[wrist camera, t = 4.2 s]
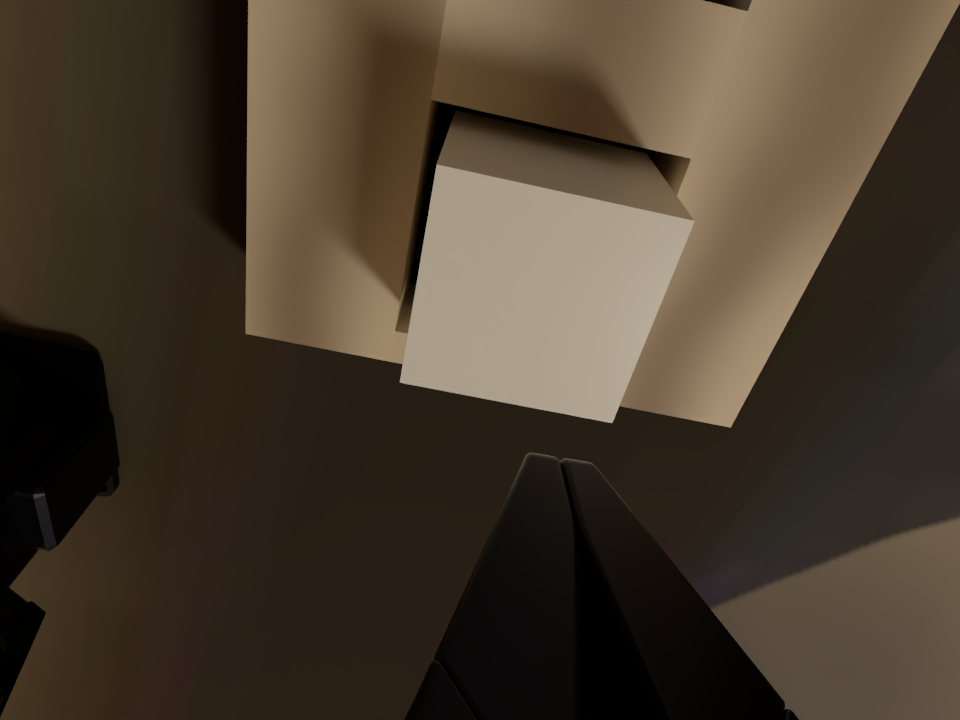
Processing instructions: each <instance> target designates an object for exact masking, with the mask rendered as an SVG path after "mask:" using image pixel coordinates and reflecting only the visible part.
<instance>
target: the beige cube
mask: <svg viewBox="0 0 960 720" xmlns="http://www.w3.org/2000/svg"><path fill="white" fill-rule="evenodd" d="M694 222H695V221H694V219H693V218H692V216H691V215H690V214H689V212H688V211H687V209H686V208H685V207H684V205H683V204H682V202H681V201H680V200H679V198H678V197H677V195H676V194H675V193H674V191H673V190H672V189H671V187H670V186H669V184H668V183H667V182H666V180H665V179H664V177H663V176H662V175H661V173H660V172H659V170H658V169H657V168H656V166H655V165H654V163H653V162H652V161H651V159H650V158H649V156H648V155H647V154H646V153H643V152H638V151H634V150H629V149H625V148H621V147H616V146H612V145H607V144H603V143H598V142H594V141H590V140H585V139H581V138H576V137H572V136H568V135H563V134H559V133H554V132H550V131H546V130H541V129H537V128H532V127H528V126H523V125H519V124H515V123H510V122H506V121H501V120H497V119H493V118H488V117H484V116H479V115H475V114H470V113H466V112H462V111H457V110H456V111H455V113H454V116H453V119H452V122H451V125H450V128H449V130H448V133H447V136H446V139H445V142H444V145H443V148H442V150H441V153H440V156H439V159H438V162H437V165H436V171H435V177H434V183H433V189H432V194H431V200H430V206H429V212H428V218H427V224H426V230H425V236H424V242H423V248H422V254H421V260H420V266H419V271H418V277H417V283H416V289H415V295H414V301H413V307H412V313H411V319H410V325H409V331H408V337H407V342H406V348H405V354H404V360H403V366H402V372H401V378H400V383H405V384H410V385H415V386H421V387H426V388H431V389H436V390H441V391H447V392H452V393H457V394H462V395H468V396H473V397H478V398H483V399H489V400H494V401H499V402H504V403H509V404H515V405H520V406H525V407H530V408H536V409H541V410H546V411H551V412H557V413H562V414H567V415H572V416H578V417H583V418H588V419H593V420H598V421H604V422H609V423H613V420H614V418H615V415H616V413H617V410H618V408H619V405H620V403H621V401H622V398H623V396H624V393H625V391H626V388H627V386H628V383H629V381H630V378H631V376H632V374H633V371H634V369H635V366H636V364H637V361H638V359H639V356H640V354H641V352H642V349H643V347H644V344H645V342H646V339H647V337H648V334H649V332H650V329H651V327H652V325H653V322H654V320H655V317H656V315H657V312H658V310H659V307H660V305H661V303H662V300H663V298H664V295H665V293H666V290H667V288H668V285H669V283H670V280H671V278H672V276H673V273H674V271H675V268H676V266H677V263H678V261H679V258H680V256H681V254H682V251H683V249H684V246H685V244H686V241H687V239H688V236H689V234H690V232H691V229H692V227H693V224H694Z"/></svg>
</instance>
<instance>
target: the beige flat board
mask: <svg viewBox="0 0 960 720" xmlns="http://www.w3.org/2000/svg"><path fill="white" fill-rule="evenodd" d="M959 3H960V0H709V2H708V1H704V0H248V85H247V219H246V334H250V335H255V336H260V337H265V338H271V339H276V340H281V341H286V342H291V343H297V344H302V345H307V346H312V347H317V348H322V349H328V350H333V351H338V352H343V353H348V354H353V355H359V356H364V357H369V358H374V359H379V360H384V361H390V362H395V363H400V364H403V360H404V354H405V348H406V342H407V337H408V331H409V325H410V319H411V313H412V307H413V301H414V295H415V289H416V284H411V283H410V278H411V272H412V266H413V260H414V254H415V247H416V241H417V235H418V229H419V223H420V217H421V210H422V204H423V198H424V192H425V186H426V180H427V174H428V167H429V161H430V155H431V149H432V143H433V137H434V130H435V124H436V118H437V112H438V106H439V102H443V103H448V104H452V105H456V106H461V107H465V108H470V109H474V110H478V111H483V112H487V113H492V114H496V115H500V116H505V117H509V118H514V119H518V120H522V121H527V122H531V123H536V124H540V125H544V126H549V127H553V128H558V129H562V130H566V131H571V132H575V133H580V134H584V135H588V136H593V137H597V138H602V139H606V140H610V141H615V142H619V143H624V144H628V145H632V146H637V147H641V148H646V149H650V150H654V151H656V152H655V155H654V158H653V161H652V162H653V163H654V165H655V166H656V168H657V169H658V170H659V172H660V173H661V175H662V176H663V177H664V179H665V180H666V182H667V183H668V184H669V186H670V187H671V189H672V190H673V191H674V193H675V194H676V195H677V197H678V198H679V200H680V201H681V202H682V204H683V205H684V207H685V208H686V209H687V211H688V212H689V214H690V215H691V216H692V218H693V219H694V221H695V222H694V224H693V227H692V229H691V232H690V234H689V236H688V239H687V241H686V244H685V246H684V249H683V251H682V254H681V256H680V258H679V261H678V263H677V266H676V268H675V271H674V273H673V276H672V278H671V280H670V283H669V285H668V288H667V290H666V293H665V295H664V298H663V300H662V303H661V305H660V307H659V310H658V312H657V315H656V317H655V320H654V322H653V325H652V327H651V329H650V332H649V334H648V337H647V339H646V342H645V344H644V347H643V349H642V352H641V354H640V356H639V359H638V361H637V364H636V366H635V369H634V371H633V374H632V376H631V378H630V381H629V383H628V386H627V388H626V391H625V393H624V396H623V398H622V401H621V403H620V405H619V406H622V407H627V408H633V409H638V410H643V411H648V412H653V413H658V414H664V415H669V416H674V417H679V418H684V419H689V420H695V421H700V422H705V423H710V424H715V425H720V426H726V427H731V426H732V424H733V422H734V420H735V418H736V416H737V415H738V413H739V411H740V409H741V407H742V405H743V403H744V402H745V400H746V398H747V396H748V394H749V392H750V390H751V389H752V387H753V385H754V383H755V381H756V379H757V378H758V376H759V374H760V372H761V370H762V368H763V366H764V365H765V363H766V361H767V359H768V357H769V355H770V353H771V352H772V350H773V348H774V346H775V344H776V342H777V340H778V339H779V337H780V335H781V333H782V331H783V329H784V328H785V326H786V324H787V322H788V320H789V318H790V316H791V315H792V313H793V311H794V309H795V307H796V305H797V303H798V302H799V300H800V298H801V296H802V294H803V292H804V290H805V289H806V287H807V285H808V283H809V281H810V279H811V278H812V276H813V274H814V272H815V270H816V268H817V266H818V265H819V263H820V261H821V259H822V257H823V255H824V253H825V252H826V250H827V248H828V246H829V244H830V242H831V240H832V239H833V237H834V235H835V233H836V231H837V229H838V227H839V226H840V224H841V222H842V220H843V218H844V216H845V215H846V213H847V211H848V209H849V207H850V205H851V203H852V202H853V200H854V198H855V196H856V194H857V192H858V190H859V189H860V187H861V185H862V183H863V181H864V179H865V177H866V176H867V174H868V172H869V170H870V168H871V166H872V165H873V163H874V161H875V159H876V157H877V155H878V153H879V152H880V150H881V148H882V146H883V144H884V142H885V140H886V139H887V137H888V135H889V133H890V131H891V129H892V127H893V126H894V124H895V122H896V120H897V118H898V116H899V115H900V113H901V111H902V109H903V107H904V105H905V103H906V102H907V100H908V98H909V96H910V94H911V92H912V90H913V89H914V87H915V85H916V83H917V81H918V79H919V77H920V76H921V74H922V72H923V70H924V68H925V66H926V64H927V63H928V61H929V59H930V57H931V55H932V53H933V52H934V50H935V48H936V46H937V44H938V42H939V40H940V39H941V37H942V35H943V33H944V31H945V29H946V27H947V26H948V24H949V22H950V20H951V18H952V16H953V14H954V13H955V11H956V9H957V7H958V5H959Z"/></svg>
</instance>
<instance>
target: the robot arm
mask: <svg viewBox="0 0 960 720" xmlns="http://www.w3.org/2000/svg"><path fill="white" fill-rule="evenodd" d="M81 363H83V364H85V365H86V366H87V367H88V368H86V367H84V366H83V365H82V364H81ZM119 465H120V462H119V455H118V448H117V440H116V433H115V425H114V418H113V415H112V413H111V411H110V409H109V403H108V396H107V388H106V381H105V374H104V367H103V363H102V360H101V359H100V358H99V357H98V356H97V355H96V354H94V353H93V352H90V351H87V350H82V349H77V348H72V347H66V346H61V345H56V344H51V343H45V342H40V341H35V340H29V339H24V338H19V337H13V336H8V335H3V334H0V716H1V714H2V712H3V710H4V707H5V705H6V703H7V700H8V698H9V696H10V694H11V691H12V689H13V687H14V685H15V682H16V680H17V678H18V675H19V673H20V671H21V669H22V666H23V664H24V662H25V659H26V657H27V655H28V653H29V650H30V648H31V646H32V644H33V641H34V639H35V637H36V634H37V632H38V630H39V628H40V625H41V623H42V621H43V618H44V616H45V613H46V612H45V611H44V610H42V609H41V608H40V607H39V606H37V605H36V604H35V603H34V602H32V601H31V602H27V601H25V600H24V599H23V598H22V597H20V596H19V595H18V594H17V593H15V592H14V591H13V590H12V589H10V588H9V586H10V585H11V584H12V583H13V581H14V580H15V579H16V578H17V576H18V575H19V574H20V573H21V571H22V570H23V569H24V568H25V566H26V565H27V564H28V563H29V561H30V560H31V559H32V558H33V556H34V555H35V554H36V552H37V551H38V550H44V551H50V550H52V549H53V548H55V547H56V546H58V545H59V544H60V542H61V541H62V540H63V538H64V537H65V536H66V535H67V533H68V532H69V531H70V529H71V528H72V527H73V525H74V524H75V523H76V522H77V520H78V519H79V518H80V516H81V515H82V514H83V512H84V511H85V510H86V509H87V507H88V506H89V505H90V503H91V502H92V501H93V499H94V498H95V497H96V496H110V495H112V494H113V493H114V491H115V490H116V489H117V487H118V486H119V475H118V467H119ZM404 720H799V719H798V718H797V716H796V715H795V714H794V713H793V712H792V711H791V710H789V709H786V710H785V702H784V701H783V699H782V698H781V697H780V696H779V694H778V693H777V692H776V691H775V689H774V688H773V687H772V686H771V684H770V683H769V682H768V681H767V679H766V678H765V677H764V676H763V674H762V673H761V672H760V671H759V669H758V668H757V667H756V666H755V664H754V663H753V662H752V661H751V660H750V658H749V657H748V656H747V654H746V653H745V652H744V651H743V649H742V648H741V647H740V646H739V645H738V643H737V642H736V641H735V640H734V638H733V637H732V636H731V635H730V633H729V632H728V631H727V629H726V628H725V627H724V626H723V625H722V623H721V622H720V621H719V619H718V618H717V617H716V616H715V615H714V613H713V612H712V611H711V609H710V608H709V607H708V606H707V604H706V603H705V602H704V601H703V599H702V598H701V597H700V596H699V594H698V593H697V592H696V591H695V589H694V588H693V587H692V586H691V584H690V583H689V582H688V581H687V580H686V578H685V577H684V576H683V575H682V573H681V572H680V571H679V570H678V568H677V567H676V566H675V565H674V563H673V562H672V561H671V560H670V558H669V557H668V556H667V555H666V553H665V552H664V551H663V550H662V548H661V547H660V546H659V545H658V543H657V542H656V541H655V540H654V538H653V537H652V536H651V535H650V533H649V532H648V531H647V530H646V528H645V527H644V526H643V525H642V523H641V522H640V521H639V520H638V518H637V517H636V516H635V515H634V513H633V512H632V511H631V510H630V508H629V507H628V506H627V505H626V503H625V502H624V501H623V500H622V498H621V497H620V496H619V495H618V493H617V492H616V491H615V490H614V488H613V487H612V486H611V485H610V483H609V482H608V481H607V480H606V478H605V477H604V476H603V475H602V473H601V472H600V471H599V470H598V468H597V467H596V466H595V465H594V464H592V463H590V462H585V461H579V460H573V459H567V458H564V459H562V460H560V461H559V459H558V458H556V457H554V456H549V455H543V454H537V453H528V454H527V455H526V456H525V458H524V460H523V462H522V464H521V467H520V469H519V471H518V473H517V475H516V478H515V480H514V482H513V484H512V487H511V489H510V491H509V493H508V495H507V498H506V500H505V502H504V504H503V506H502V509H501V511H500V513H499V515H498V517H497V520H496V522H495V524H494V526H493V528H492V531H491V533H490V535H489V537H488V539H487V542H486V544H485V546H484V548H483V550H482V553H481V555H480V557H479V559H478V561H477V564H476V566H475V568H474V570H473V573H472V575H471V577H470V579H469V581H468V584H467V586H466V588H465V590H464V592H463V595H462V597H461V599H460V601H459V603H458V606H457V608H456V610H455V612H454V614H453V617H452V619H451V621H450V623H449V625H448V628H447V630H446V632H445V634H444V636H443V639H442V641H441V643H440V645H439V647H438V650H437V652H436V654H435V657H434V661H433V662H432V663H431V664H430V666H429V668H428V671H427V673H426V675H425V677H424V679H423V682H422V684H421V686H420V688H419V691H418V693H417V695H416V697H415V699H414V701H413V703H412V705H411V707H410V709H409V711H408V713H407V715H406V717H405V719H404Z"/></svg>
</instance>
